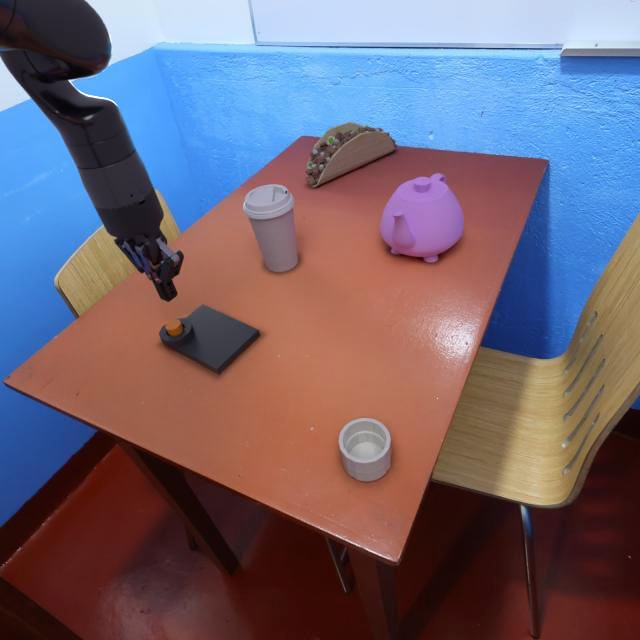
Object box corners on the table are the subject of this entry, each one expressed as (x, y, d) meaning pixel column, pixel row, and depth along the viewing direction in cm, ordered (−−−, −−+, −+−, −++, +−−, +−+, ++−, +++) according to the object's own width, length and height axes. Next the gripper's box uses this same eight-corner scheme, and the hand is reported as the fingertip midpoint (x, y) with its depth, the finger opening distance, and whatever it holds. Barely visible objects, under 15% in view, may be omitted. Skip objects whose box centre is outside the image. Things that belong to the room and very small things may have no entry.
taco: (299, 181, 119) (292, 142, 112) (380, 145, 129) (379, 107, 122) (321, 194, 113) (315, 153, 106) (405, 154, 122) (404, 115, 115)
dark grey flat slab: (215, 378, 74) (210, 365, 72) (159, 346, 81) (152, 334, 79) (260, 335, 80) (256, 322, 78) (203, 309, 87) (198, 297, 85)
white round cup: (375, 492, 57) (372, 472, 53) (333, 468, 60) (328, 446, 56) (400, 453, 60) (399, 431, 57) (359, 432, 63) (356, 410, 60)
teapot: (434, 290, 82) (437, 222, 73) (357, 270, 89) (350, 205, 80) (478, 226, 94) (485, 160, 85) (406, 212, 102) (406, 151, 92)
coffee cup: (294, 280, 90) (279, 210, 79) (250, 274, 93) (230, 206, 83) (312, 251, 96) (301, 183, 86) (271, 246, 99) (255, 180, 89)
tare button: (175, 338, 78) (172, 331, 77) (165, 333, 79) (162, 326, 78) (186, 328, 79) (183, 322, 78) (176, 323, 81) (173, 317, 80)
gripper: (67, 194, 60) (123, 298, 71) (128, 216, 53) (179, 327, 64) (115, 169, 64) (161, 271, 75) (178, 186, 57) (218, 296, 69)
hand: (170, 297), depth 70 cm, fingers closed
